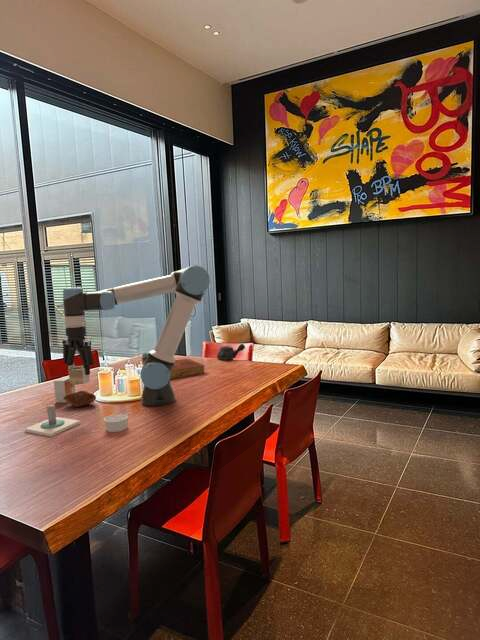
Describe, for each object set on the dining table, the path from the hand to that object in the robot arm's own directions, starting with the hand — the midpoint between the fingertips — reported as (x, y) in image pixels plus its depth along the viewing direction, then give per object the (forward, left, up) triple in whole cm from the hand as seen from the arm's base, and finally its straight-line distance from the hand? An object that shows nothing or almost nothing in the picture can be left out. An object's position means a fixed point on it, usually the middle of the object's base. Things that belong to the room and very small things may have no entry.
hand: (79, 381), depth 175 cm
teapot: (-9, -117, -16) cm, 119 cm away
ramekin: (-22, +4, -16) cm, 27 cm away
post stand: (+3, +12, -15) cm, 20 cm away
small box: (+27, -16, -16) cm, 35 cm away
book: (+7, -75, -16) cm, 77 cm away
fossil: (+13, -12, -16) cm, 24 cm away
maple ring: (0, 0, 0) cm, 0 cm away
